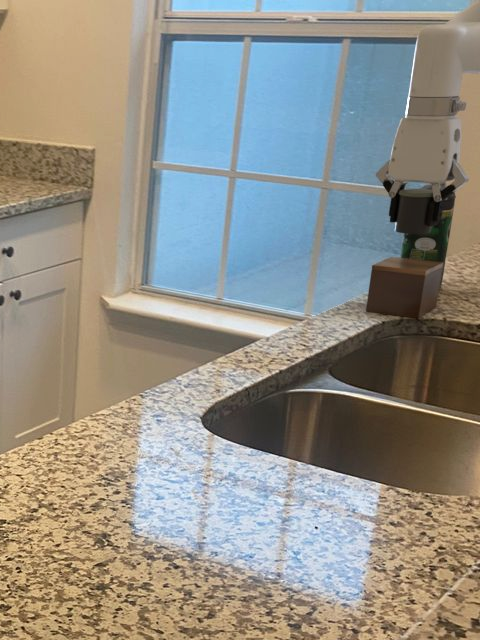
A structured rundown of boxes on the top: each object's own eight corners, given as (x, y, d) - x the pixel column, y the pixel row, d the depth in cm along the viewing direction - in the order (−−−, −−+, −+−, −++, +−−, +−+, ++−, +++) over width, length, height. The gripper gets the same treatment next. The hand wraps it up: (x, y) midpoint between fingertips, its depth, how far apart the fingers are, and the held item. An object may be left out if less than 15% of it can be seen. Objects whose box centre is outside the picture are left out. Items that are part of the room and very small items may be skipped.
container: (419, 227, 177) (425, 188, 174) (438, 233, 171) (445, 192, 169) (386, 229, 176) (392, 189, 173) (405, 235, 171) (411, 193, 168)
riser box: (384, 301, 185) (391, 256, 182) (436, 308, 180) (443, 262, 177) (365, 311, 179) (372, 265, 176) (418, 318, 174) (425, 270, 170)
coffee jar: (398, 281, 200) (413, 182, 192) (442, 284, 197) (459, 183, 189) (392, 291, 192) (408, 188, 184) (438, 294, 189) (456, 190, 181)
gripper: (495, 108, 162) (474, 225, 170) (391, 106, 174) (375, 215, 181) (475, 111, 158) (455, 231, 165) (369, 108, 169) (355, 221, 177)
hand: (413, 222), depth 173 cm, fingers closed on container, 5 cm apart
